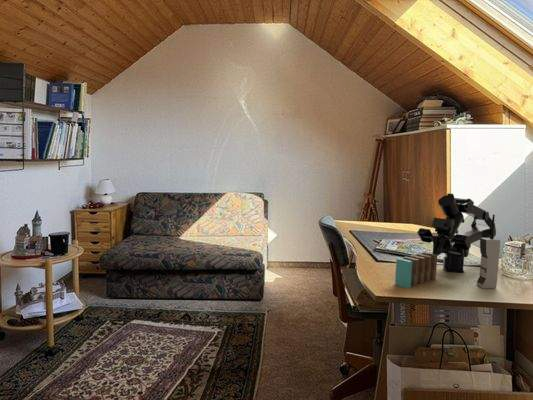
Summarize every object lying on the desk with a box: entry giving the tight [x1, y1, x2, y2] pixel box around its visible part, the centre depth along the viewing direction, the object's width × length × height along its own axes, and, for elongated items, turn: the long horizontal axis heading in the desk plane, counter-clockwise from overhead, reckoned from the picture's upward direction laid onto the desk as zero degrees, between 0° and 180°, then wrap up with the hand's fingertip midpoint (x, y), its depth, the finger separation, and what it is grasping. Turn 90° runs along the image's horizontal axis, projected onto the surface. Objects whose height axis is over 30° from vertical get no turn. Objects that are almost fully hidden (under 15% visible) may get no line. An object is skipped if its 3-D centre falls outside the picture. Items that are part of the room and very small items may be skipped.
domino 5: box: [421, 251, 438, 281], centre depth 155 cm, size 2×5×9 cm, turn 39°
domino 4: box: [415, 253, 431, 283], centre depth 152 cm, size 2×5×9 cm, turn 39°
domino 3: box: [409, 254, 425, 285], centre depth 150 cm, size 2×5×9 cm, turn 39°
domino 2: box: [402, 256, 419, 287], centre depth 147 cm, size 2×5×9 cm, turn 39°
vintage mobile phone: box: [475, 214, 501, 289], centre depth 145 cm, size 4×5×25 cm
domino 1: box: [394, 257, 412, 289], centre depth 145 cm, size 2×5×9 cm, turn 39°
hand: (433, 256), depth 156 cm, fingers closed
